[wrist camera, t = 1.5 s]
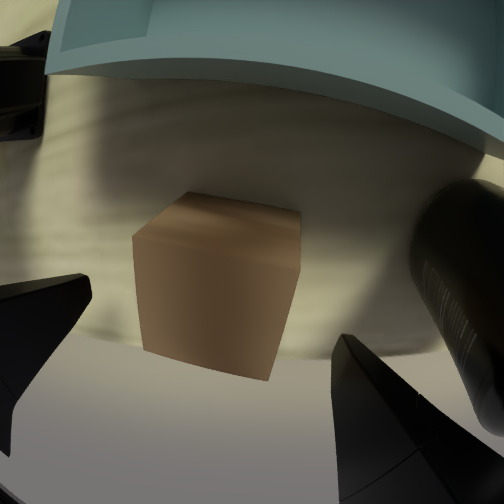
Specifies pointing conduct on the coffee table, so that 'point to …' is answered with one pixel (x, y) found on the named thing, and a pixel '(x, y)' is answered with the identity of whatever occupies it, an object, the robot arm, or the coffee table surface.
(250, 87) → the coffee table surface
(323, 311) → the coffee table surface
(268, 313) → the walnut cube
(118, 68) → the tote
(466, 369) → the supplement bottle
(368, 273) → the coffee table surface
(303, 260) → the coffee table surface
